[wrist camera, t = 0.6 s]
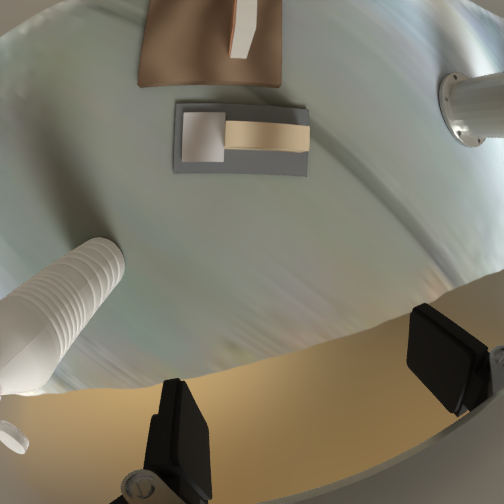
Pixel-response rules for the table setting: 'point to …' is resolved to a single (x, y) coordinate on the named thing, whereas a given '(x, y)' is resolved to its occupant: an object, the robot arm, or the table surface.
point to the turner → (237, 136)
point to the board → (208, 45)
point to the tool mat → (245, 159)
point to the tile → (242, 27)
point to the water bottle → (51, 319)
